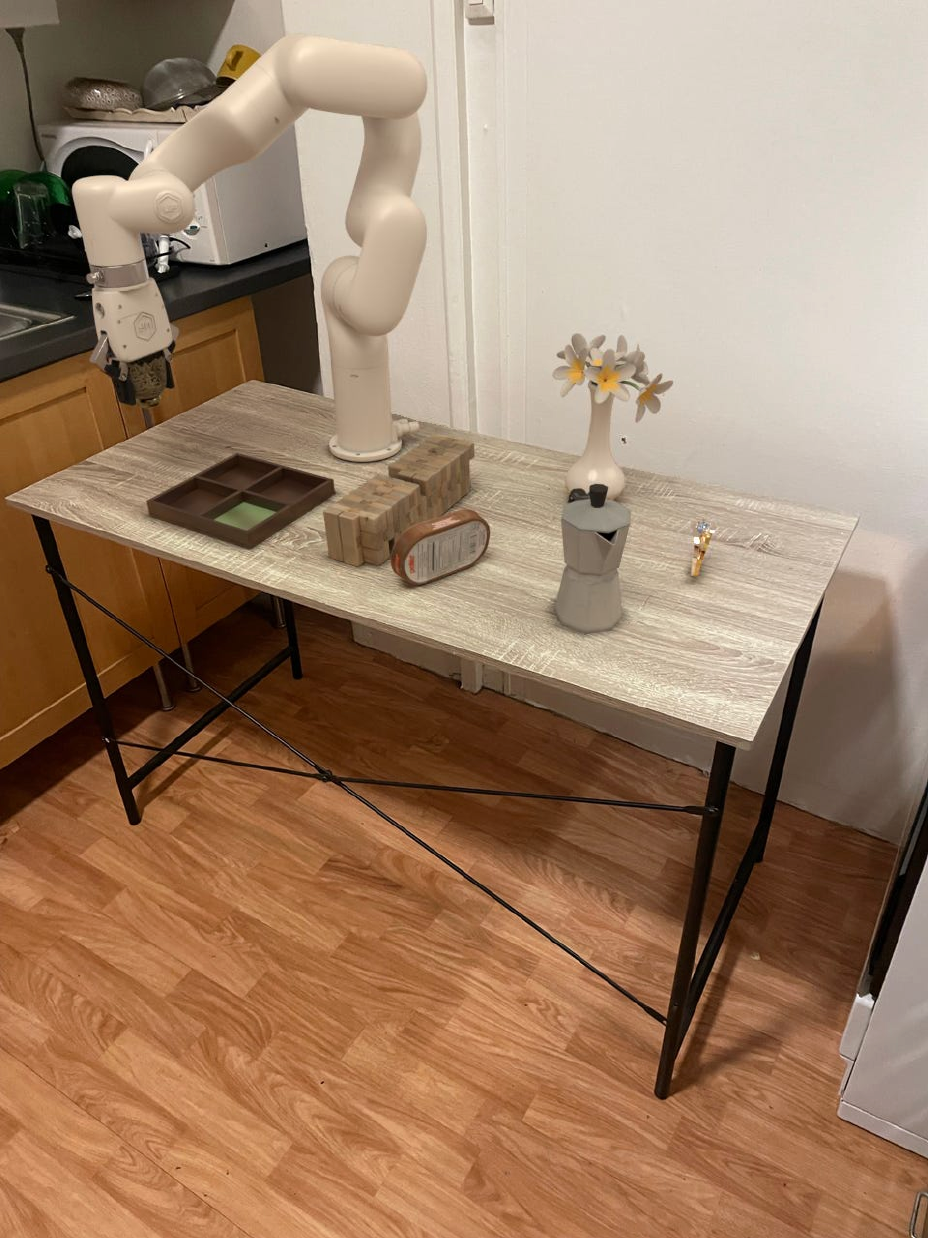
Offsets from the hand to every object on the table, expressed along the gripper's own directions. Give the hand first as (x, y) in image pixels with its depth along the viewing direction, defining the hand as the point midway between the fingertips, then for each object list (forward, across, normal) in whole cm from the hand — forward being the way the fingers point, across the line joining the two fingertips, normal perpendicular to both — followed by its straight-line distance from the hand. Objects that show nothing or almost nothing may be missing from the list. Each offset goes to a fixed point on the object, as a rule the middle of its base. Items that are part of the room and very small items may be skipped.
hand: (147, 394), depth 139 cm
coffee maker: (+16, +3, -73) cm, 75 cm away
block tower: (+16, +10, -40) cm, 44 cm away
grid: (+16, +2, -15) cm, 22 cm away
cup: (+2, 0, 0) cm, 2 cm away
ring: (+17, +18, -82) cm, 86 cm away
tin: (+16, 0, -52) cm, 55 cm away
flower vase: (+17, +31, -62) cm, 71 cm away
